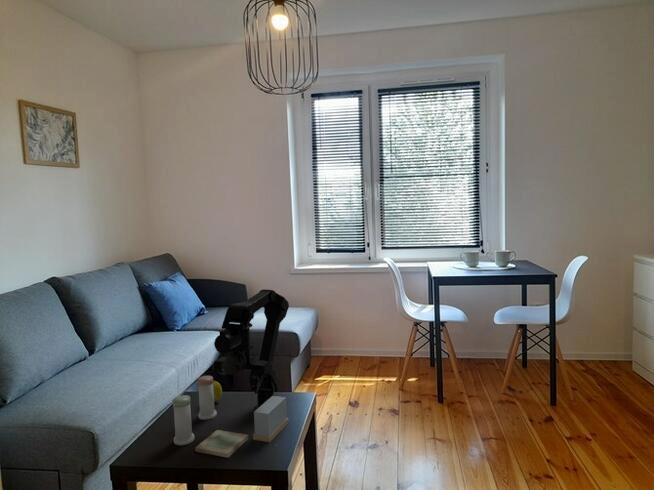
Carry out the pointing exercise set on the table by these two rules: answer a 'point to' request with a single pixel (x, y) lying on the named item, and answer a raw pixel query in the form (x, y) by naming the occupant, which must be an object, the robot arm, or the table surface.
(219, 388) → the lemon
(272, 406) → the block
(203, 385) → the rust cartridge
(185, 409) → the knob
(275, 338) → the robot arm
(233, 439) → the pad
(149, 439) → the table surface
